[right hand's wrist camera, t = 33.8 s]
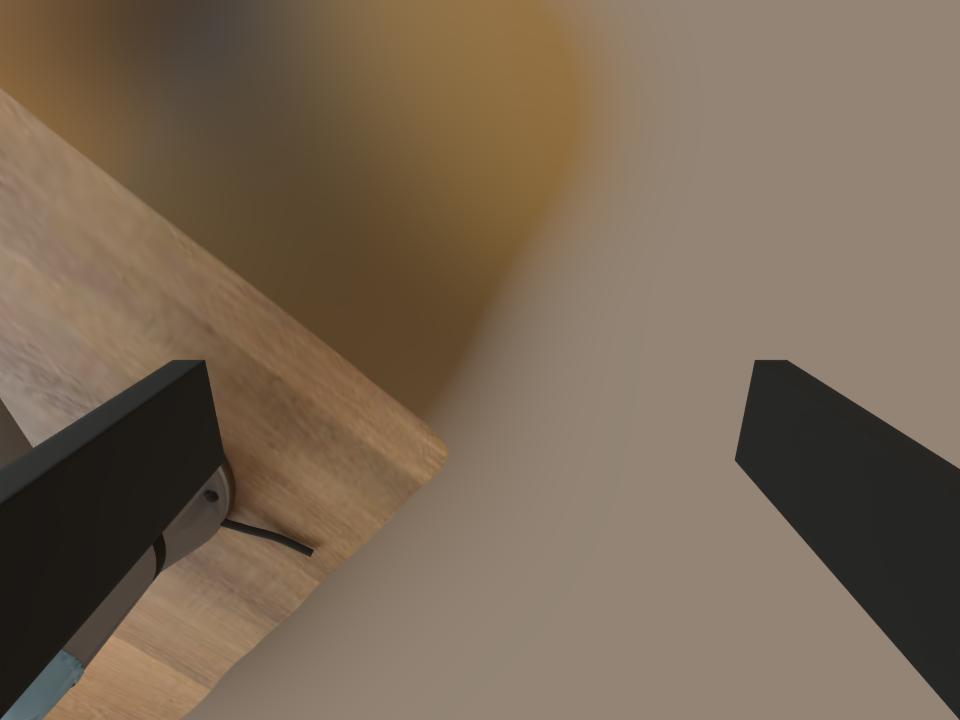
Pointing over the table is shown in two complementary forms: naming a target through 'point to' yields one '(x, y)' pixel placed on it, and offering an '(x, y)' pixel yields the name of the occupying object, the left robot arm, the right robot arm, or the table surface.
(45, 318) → the table surface
